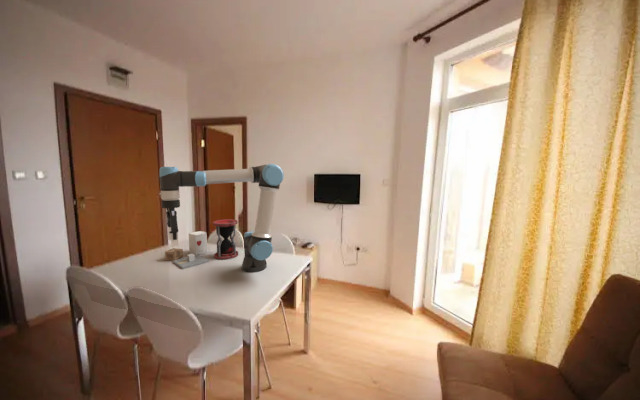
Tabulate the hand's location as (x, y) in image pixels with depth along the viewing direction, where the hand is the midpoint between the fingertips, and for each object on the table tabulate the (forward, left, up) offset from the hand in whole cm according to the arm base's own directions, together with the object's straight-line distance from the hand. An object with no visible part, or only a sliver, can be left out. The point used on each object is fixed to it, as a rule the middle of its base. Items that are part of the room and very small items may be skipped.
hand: (173, 242), depth 117 cm
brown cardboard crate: (-16, -51, -25) cm, 59 cm away
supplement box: (-33, -53, -25) cm, 67 cm away
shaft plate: (-21, -36, -25) cm, 49 cm away
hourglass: (-43, -31, -25) cm, 59 cm away
